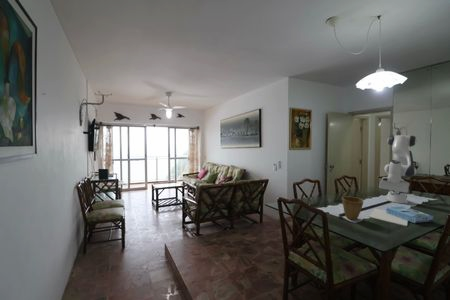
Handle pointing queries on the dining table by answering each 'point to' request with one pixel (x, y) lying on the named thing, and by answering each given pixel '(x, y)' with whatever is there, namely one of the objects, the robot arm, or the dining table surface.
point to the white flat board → (387, 217)
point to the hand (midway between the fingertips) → (392, 195)
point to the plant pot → (352, 207)
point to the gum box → (409, 214)
